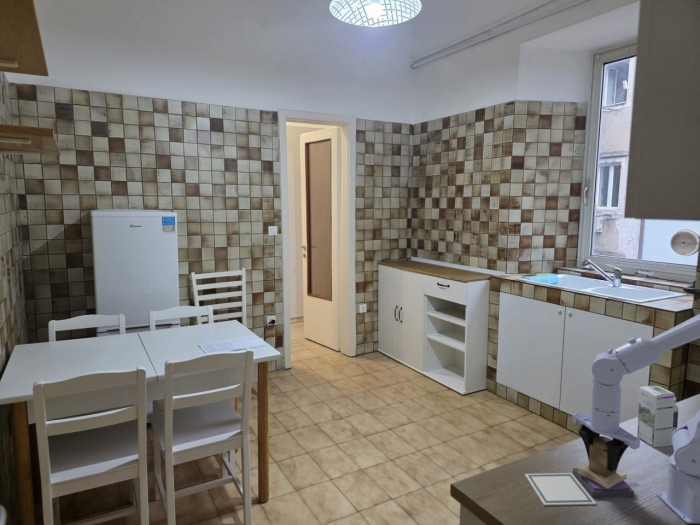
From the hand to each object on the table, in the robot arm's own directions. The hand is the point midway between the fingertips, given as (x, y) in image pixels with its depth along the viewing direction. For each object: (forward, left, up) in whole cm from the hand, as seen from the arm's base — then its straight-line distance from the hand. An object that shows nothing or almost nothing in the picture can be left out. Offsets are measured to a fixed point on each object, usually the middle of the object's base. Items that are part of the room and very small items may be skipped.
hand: (602, 464), depth 103 cm
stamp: (0, 0, -3) cm, 3 cm away
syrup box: (+18, -24, -5) cm, 30 cm away
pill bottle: (+24, -31, -5) cm, 39 cm away
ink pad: (0, 0, -5) cm, 5 cm away
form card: (-2, +10, -5) cm, 12 cm away
